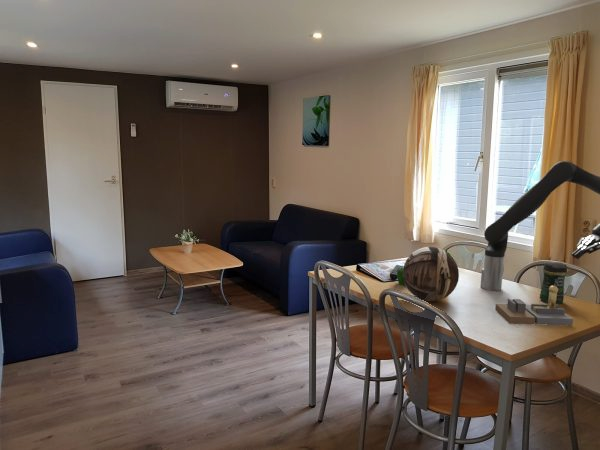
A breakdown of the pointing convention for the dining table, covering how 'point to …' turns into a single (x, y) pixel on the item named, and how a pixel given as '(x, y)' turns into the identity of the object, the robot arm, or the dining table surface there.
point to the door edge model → (532, 313)
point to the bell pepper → (400, 276)
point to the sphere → (430, 274)
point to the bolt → (550, 298)
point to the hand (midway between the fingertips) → (574, 256)
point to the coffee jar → (553, 280)
